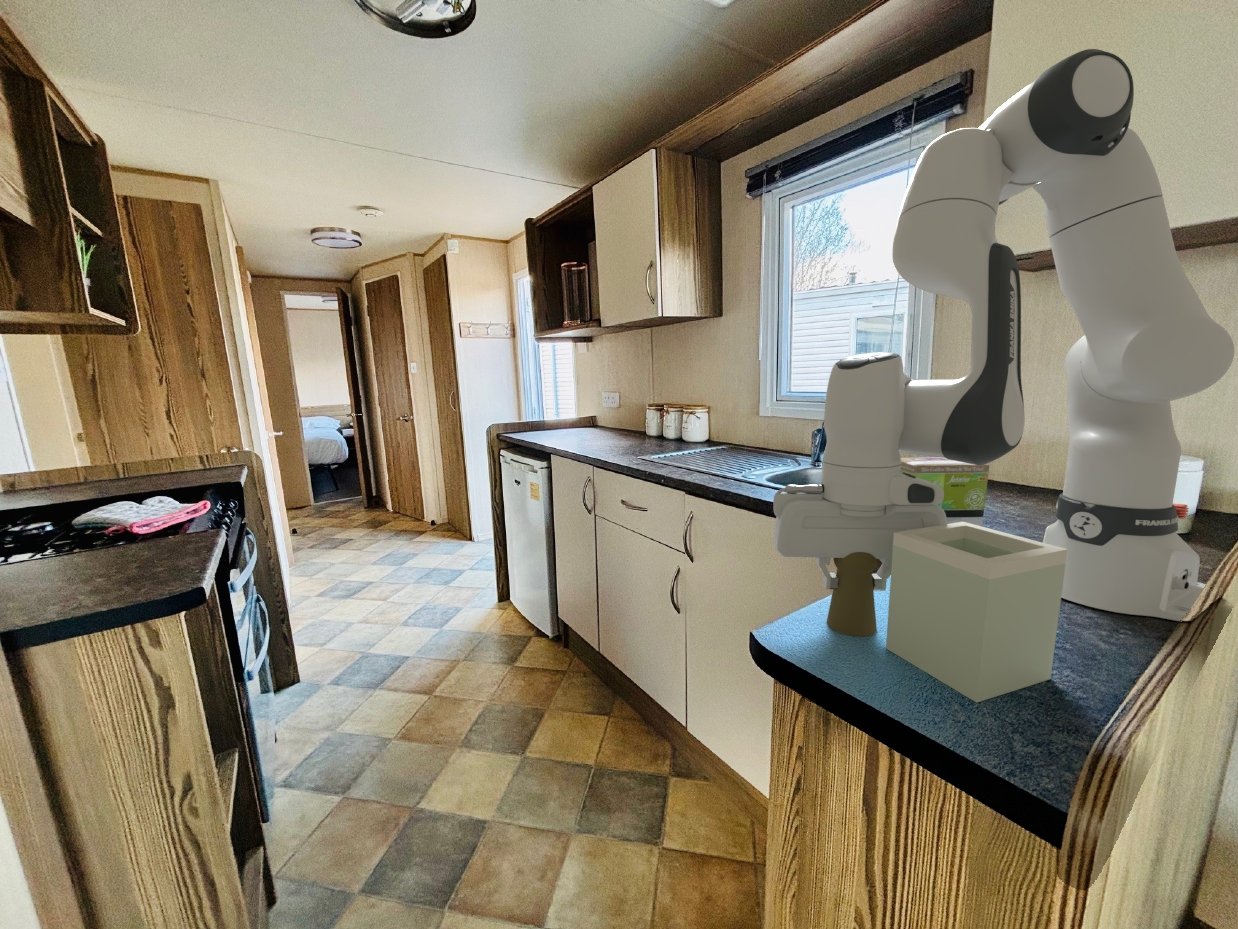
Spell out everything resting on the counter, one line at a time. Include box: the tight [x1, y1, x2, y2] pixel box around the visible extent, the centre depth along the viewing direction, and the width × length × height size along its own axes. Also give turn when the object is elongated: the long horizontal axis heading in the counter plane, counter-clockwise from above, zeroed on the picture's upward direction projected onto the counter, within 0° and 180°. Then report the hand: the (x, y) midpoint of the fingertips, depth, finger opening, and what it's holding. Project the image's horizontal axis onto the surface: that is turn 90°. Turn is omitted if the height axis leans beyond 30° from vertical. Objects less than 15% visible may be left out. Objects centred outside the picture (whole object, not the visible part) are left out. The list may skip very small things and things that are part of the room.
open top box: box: [885, 522, 1068, 704], centre depth 56 cm, size 11×11×14 cm
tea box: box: [900, 456, 990, 527], centre depth 105 cm, size 15×10×15 cm, turn 91°
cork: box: [826, 552, 879, 638], centre depth 65 cm, size 6×6×11 cm
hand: (853, 588), depth 65 cm, fingers closed on cork, 4 cm apart
